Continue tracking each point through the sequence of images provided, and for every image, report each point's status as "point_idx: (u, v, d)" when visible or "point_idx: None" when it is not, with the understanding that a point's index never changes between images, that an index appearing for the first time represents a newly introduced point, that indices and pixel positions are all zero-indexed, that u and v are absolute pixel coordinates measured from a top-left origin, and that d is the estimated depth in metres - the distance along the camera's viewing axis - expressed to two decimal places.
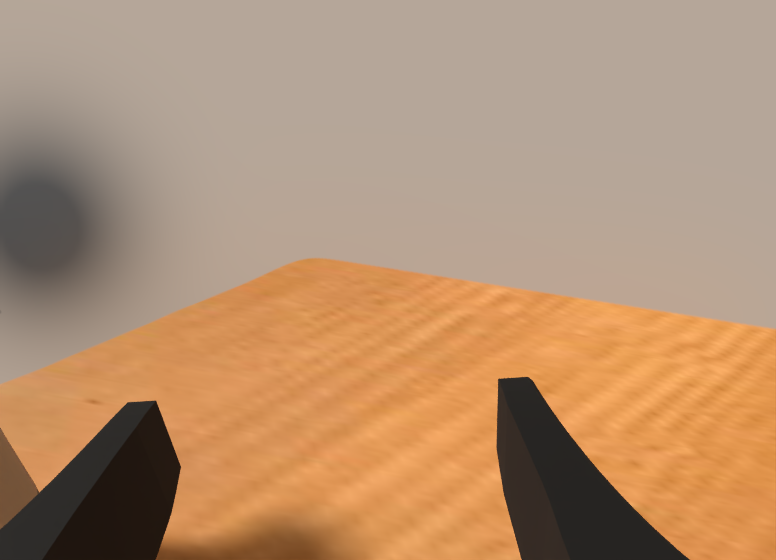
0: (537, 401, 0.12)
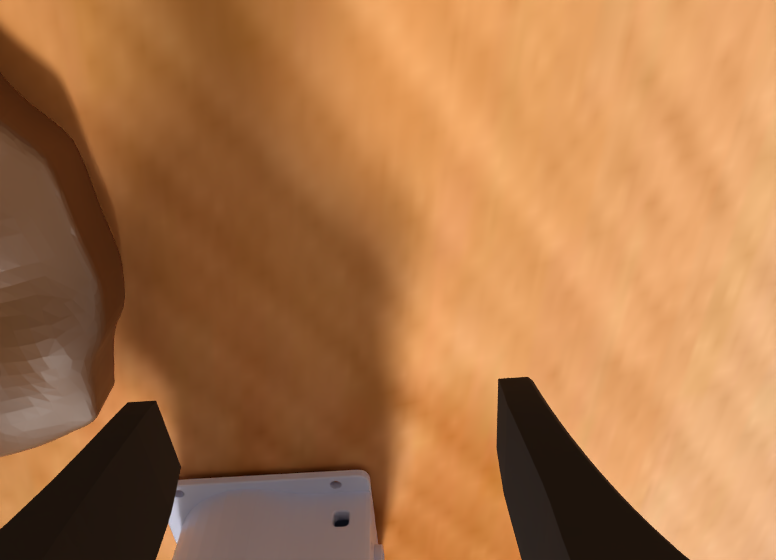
0: (538, 401, 0.12)
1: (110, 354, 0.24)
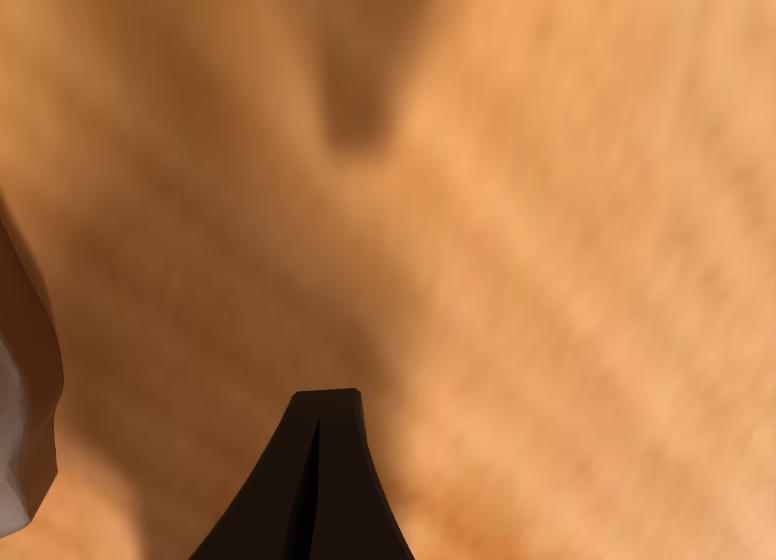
0: (350, 412, 0.12)
1: (49, 444, 0.20)
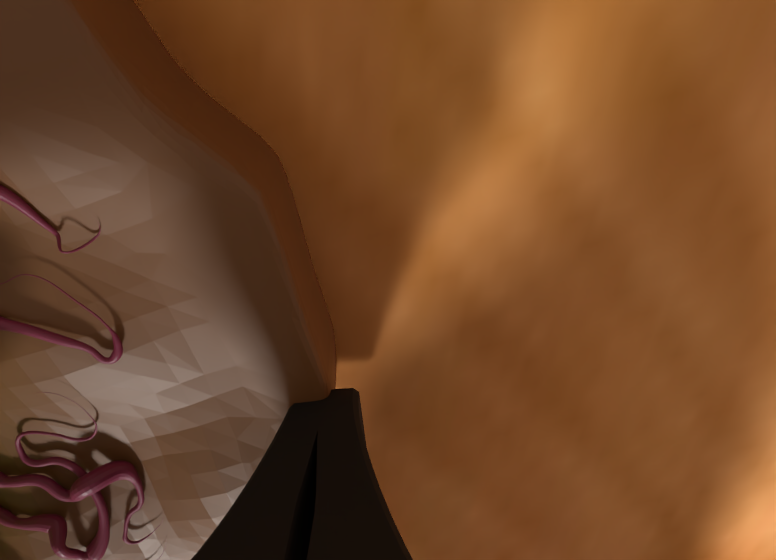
0: (348, 413, 0.12)
1: None
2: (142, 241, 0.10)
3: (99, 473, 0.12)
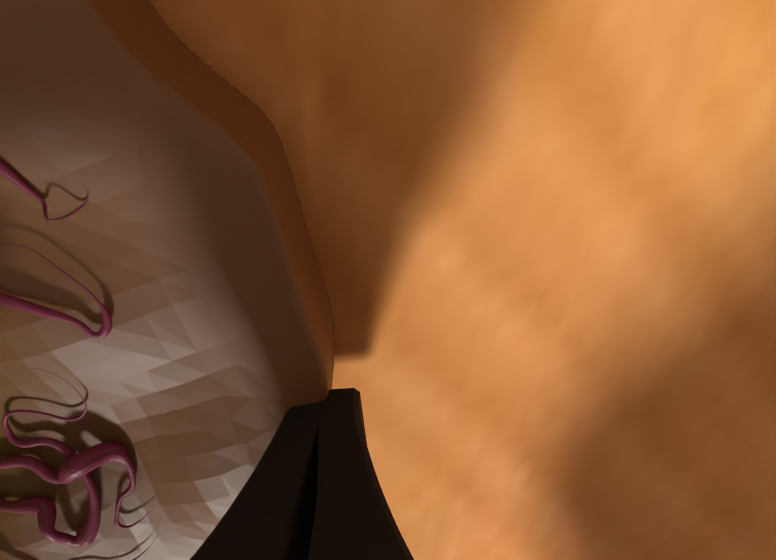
0: (349, 412, 0.12)
1: None
2: (132, 210, 0.10)
3: (89, 454, 0.12)
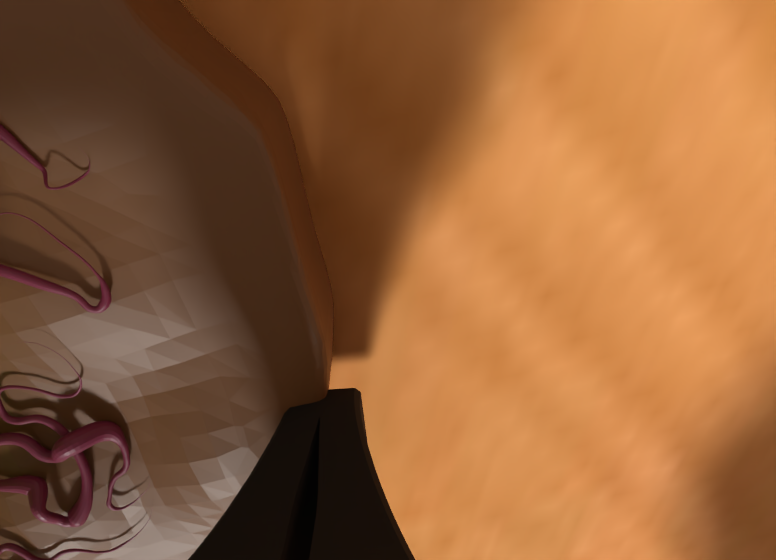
0: (350, 413, 0.12)
1: None
2: (135, 181, 0.10)
3: (83, 432, 0.11)
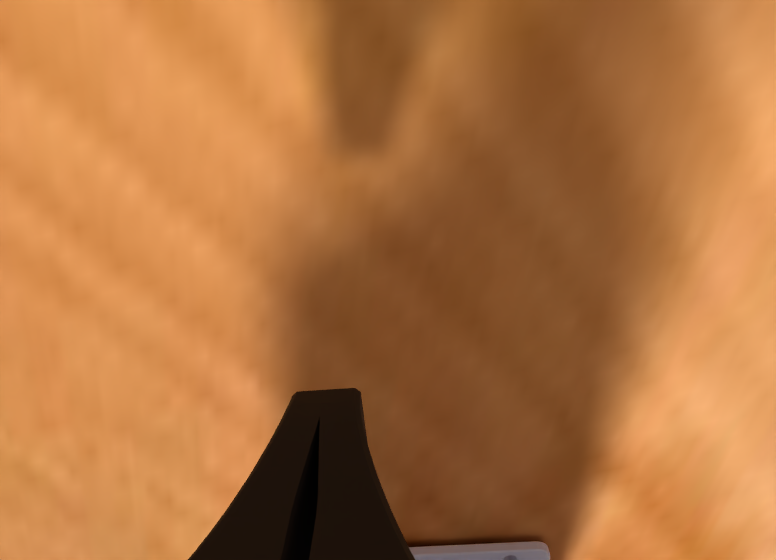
0: (350, 413, 0.12)
1: None
2: None
3: None
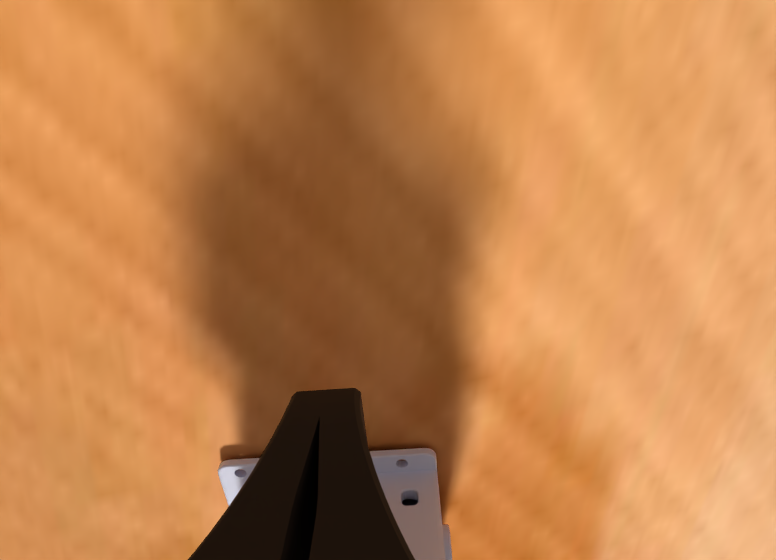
0: (350, 412, 0.12)
1: None
2: None
3: None
